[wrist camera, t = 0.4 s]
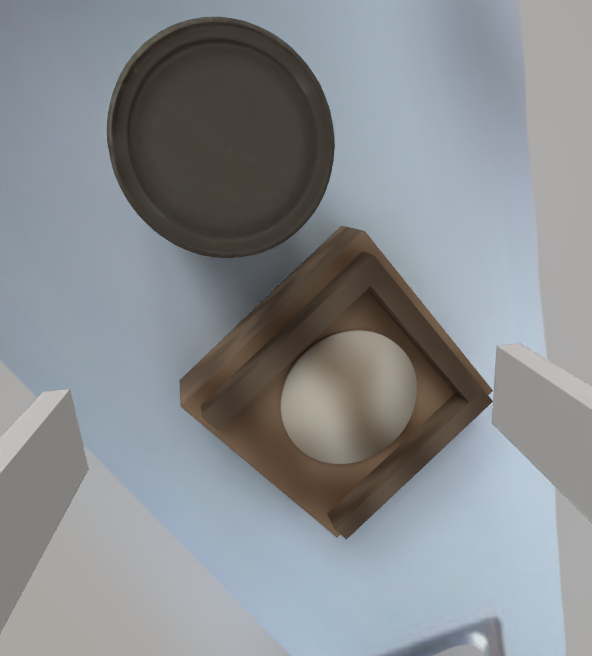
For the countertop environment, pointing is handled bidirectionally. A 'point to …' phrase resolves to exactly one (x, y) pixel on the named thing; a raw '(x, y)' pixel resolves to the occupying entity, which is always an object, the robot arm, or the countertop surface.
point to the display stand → (337, 384)
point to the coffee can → (220, 137)
